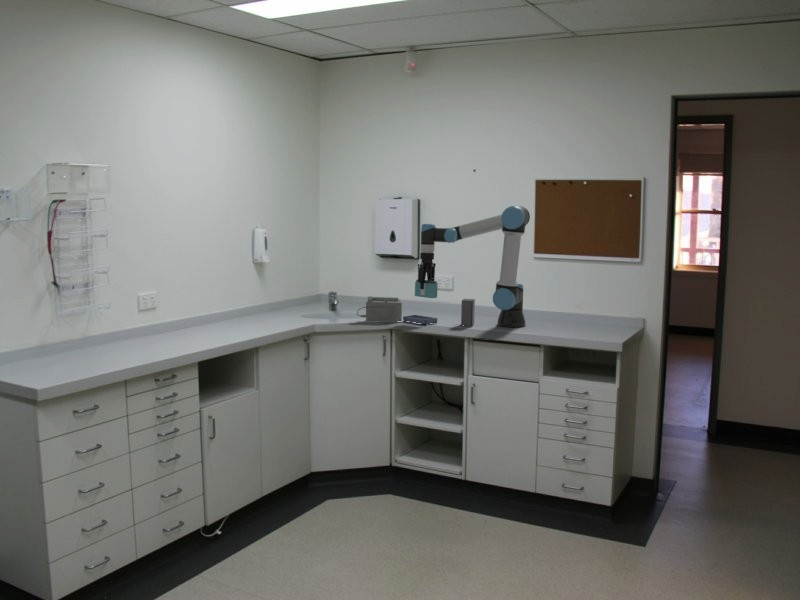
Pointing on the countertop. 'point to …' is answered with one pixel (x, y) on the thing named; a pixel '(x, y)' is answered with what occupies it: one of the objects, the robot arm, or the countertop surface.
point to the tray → (420, 319)
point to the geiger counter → (383, 309)
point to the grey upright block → (467, 312)
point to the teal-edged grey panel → (427, 289)
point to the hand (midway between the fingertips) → (425, 294)
